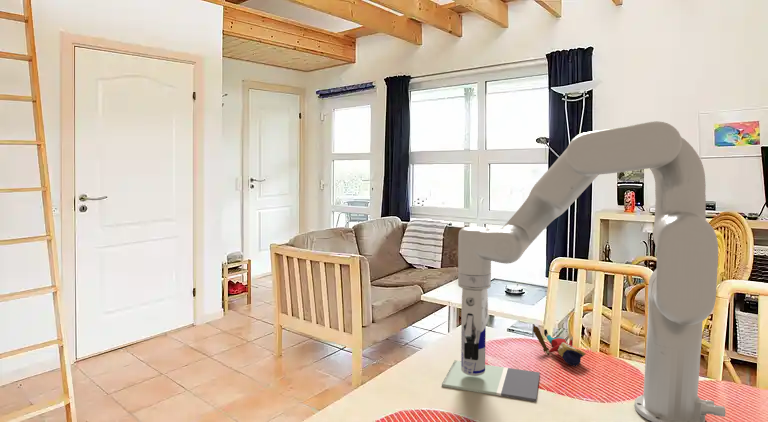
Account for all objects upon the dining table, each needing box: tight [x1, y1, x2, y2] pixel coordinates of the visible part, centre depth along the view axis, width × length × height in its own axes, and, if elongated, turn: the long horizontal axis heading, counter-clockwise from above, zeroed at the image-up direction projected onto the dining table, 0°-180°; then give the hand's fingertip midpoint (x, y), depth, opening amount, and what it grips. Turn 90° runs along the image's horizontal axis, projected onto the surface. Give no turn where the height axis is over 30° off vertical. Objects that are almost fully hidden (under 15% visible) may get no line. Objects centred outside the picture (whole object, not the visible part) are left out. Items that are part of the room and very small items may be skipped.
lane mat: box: [441, 359, 541, 402], centre depth 117 cm, size 21×14×1 cm, turn 70°
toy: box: [532, 324, 587, 367], centre depth 130 cm, size 9×6×15 cm
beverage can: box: [460, 324, 487, 376], centre depth 116 cm, size 6×6×15 cm
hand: (473, 353), depth 116 cm, fingers closed on beverage can, 4 cm apart
